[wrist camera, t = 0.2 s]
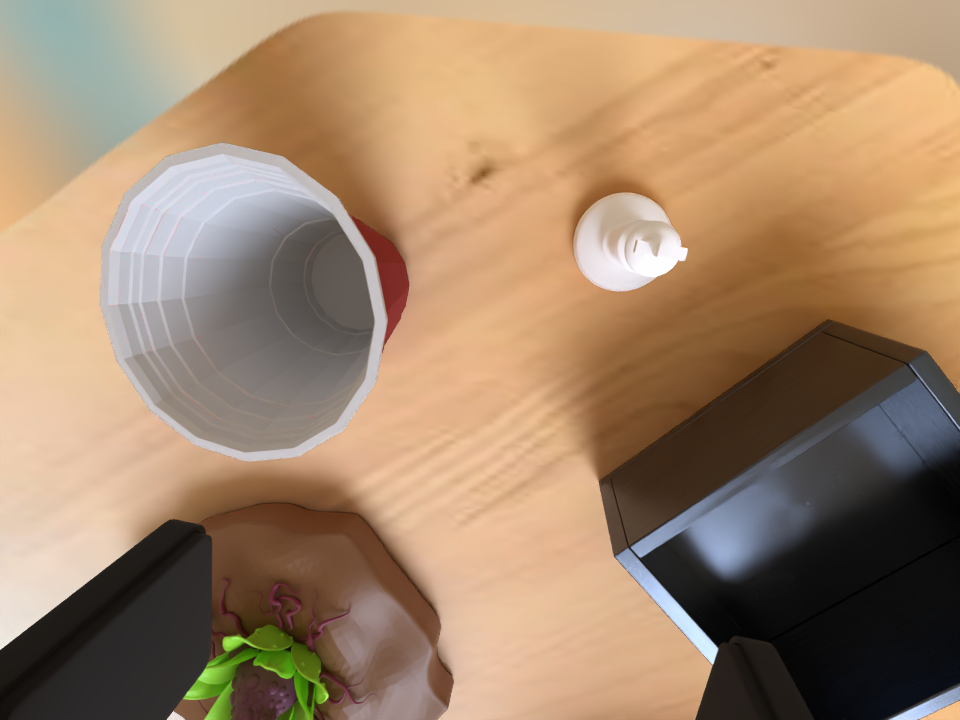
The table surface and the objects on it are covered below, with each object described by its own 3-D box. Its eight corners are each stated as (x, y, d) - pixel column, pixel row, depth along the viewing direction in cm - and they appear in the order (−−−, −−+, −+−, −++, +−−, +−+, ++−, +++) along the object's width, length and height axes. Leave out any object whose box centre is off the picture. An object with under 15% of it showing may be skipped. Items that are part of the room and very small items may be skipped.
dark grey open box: (828, 318, 26) (927, 350, 19) (989, 523, 28) (1134, 619, 21) (598, 481, 30) (613, 556, 23) (751, 654, 31) (809, 772, 25)
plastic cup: (297, 142, 27) (114, 80, 16) (483, 228, 27) (437, 228, 16) (240, 326, 30) (51, 386, 19) (408, 404, 30) (322, 513, 19)
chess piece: (658, 298, 27) (720, 337, 17) (564, 282, 27) (574, 311, 18) (683, 201, 26) (765, 185, 16) (584, 185, 26) (607, 159, 16)
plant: (361, 460, 31) (265, 581, 21) (487, 711, 35) (462, 927, 24) (109, 552, 36) (-81, 693, 25) (244, 769, 39) (130, 975, 28)
